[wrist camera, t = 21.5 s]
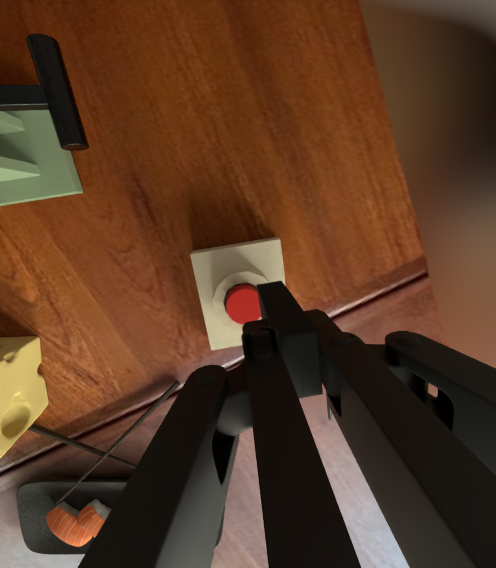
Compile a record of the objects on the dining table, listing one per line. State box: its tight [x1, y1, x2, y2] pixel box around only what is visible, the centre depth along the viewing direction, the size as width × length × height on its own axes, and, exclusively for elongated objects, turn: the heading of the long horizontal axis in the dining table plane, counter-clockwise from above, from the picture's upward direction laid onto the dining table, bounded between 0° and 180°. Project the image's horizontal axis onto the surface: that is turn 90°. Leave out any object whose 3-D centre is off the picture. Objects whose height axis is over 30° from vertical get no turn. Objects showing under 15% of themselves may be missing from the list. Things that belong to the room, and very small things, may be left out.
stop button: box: [226, 284, 261, 325], centre depth 28 cm, size 4×4×2 cm
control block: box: [190, 237, 286, 350], centre depth 31 cm, size 12×10×4 cm
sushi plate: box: [17, 381, 225, 554], centre depth 37 cm, size 29×30×4 cm
